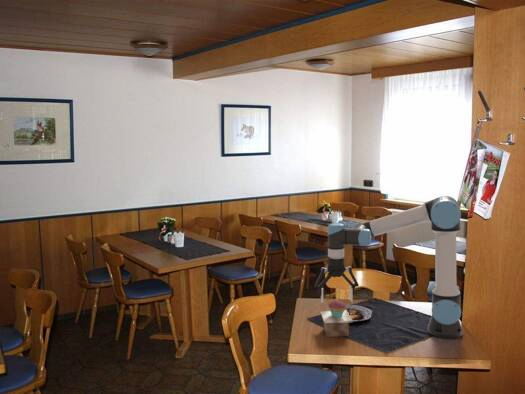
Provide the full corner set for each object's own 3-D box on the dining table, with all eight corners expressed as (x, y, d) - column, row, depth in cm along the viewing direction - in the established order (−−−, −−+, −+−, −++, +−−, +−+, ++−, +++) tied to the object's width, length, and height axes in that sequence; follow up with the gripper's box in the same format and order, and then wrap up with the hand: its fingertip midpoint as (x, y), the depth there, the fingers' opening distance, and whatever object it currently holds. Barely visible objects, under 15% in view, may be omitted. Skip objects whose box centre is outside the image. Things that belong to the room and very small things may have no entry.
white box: (347, 326, 252) (347, 310, 251) (352, 337, 239) (352, 320, 238) (320, 327, 251) (320, 311, 250) (324, 338, 238) (324, 321, 237)
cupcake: (326, 313, 248) (326, 288, 246) (343, 312, 249) (343, 287, 247) (330, 319, 239) (330, 294, 238) (348, 318, 240) (348, 293, 239)
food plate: (369, 326, 251) (369, 319, 251) (321, 323, 257) (321, 316, 257) (373, 310, 275) (373, 304, 275) (329, 307, 281) (329, 301, 281)
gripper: (361, 254, 244) (361, 297, 247) (308, 256, 244) (309, 299, 246) (364, 257, 237) (365, 303, 240) (310, 259, 236) (311, 305, 239)
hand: (336, 301), depth 243 cm, fingers open, 13 cm apart
